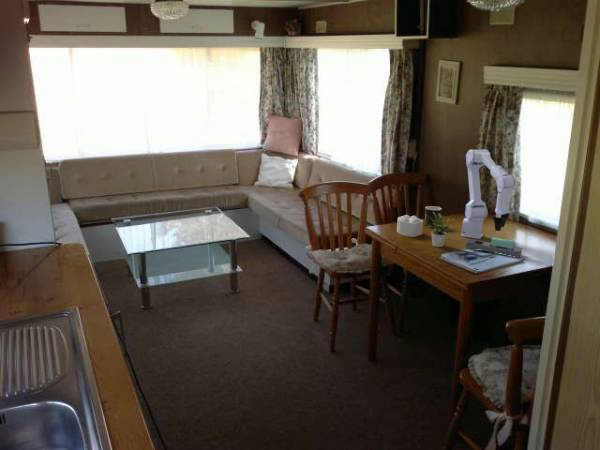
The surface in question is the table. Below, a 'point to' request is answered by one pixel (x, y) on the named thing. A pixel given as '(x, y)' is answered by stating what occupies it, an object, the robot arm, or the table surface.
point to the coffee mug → (431, 215)
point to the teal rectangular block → (502, 243)
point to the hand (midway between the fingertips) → (499, 228)
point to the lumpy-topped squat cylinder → (409, 226)
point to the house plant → (438, 231)
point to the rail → (493, 248)
